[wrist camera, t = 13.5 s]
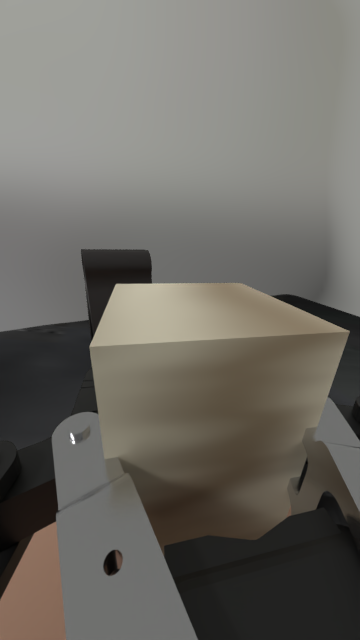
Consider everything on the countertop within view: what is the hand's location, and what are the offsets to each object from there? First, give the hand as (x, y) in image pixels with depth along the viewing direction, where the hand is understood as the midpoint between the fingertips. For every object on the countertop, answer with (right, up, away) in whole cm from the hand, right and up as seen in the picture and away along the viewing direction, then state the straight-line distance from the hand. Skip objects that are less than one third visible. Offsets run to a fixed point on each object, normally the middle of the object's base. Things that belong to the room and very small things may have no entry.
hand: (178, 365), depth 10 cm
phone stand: (-6, -3, +14) cm, 16 cm away
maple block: (0, -7, 0) cm, 6 cm away
